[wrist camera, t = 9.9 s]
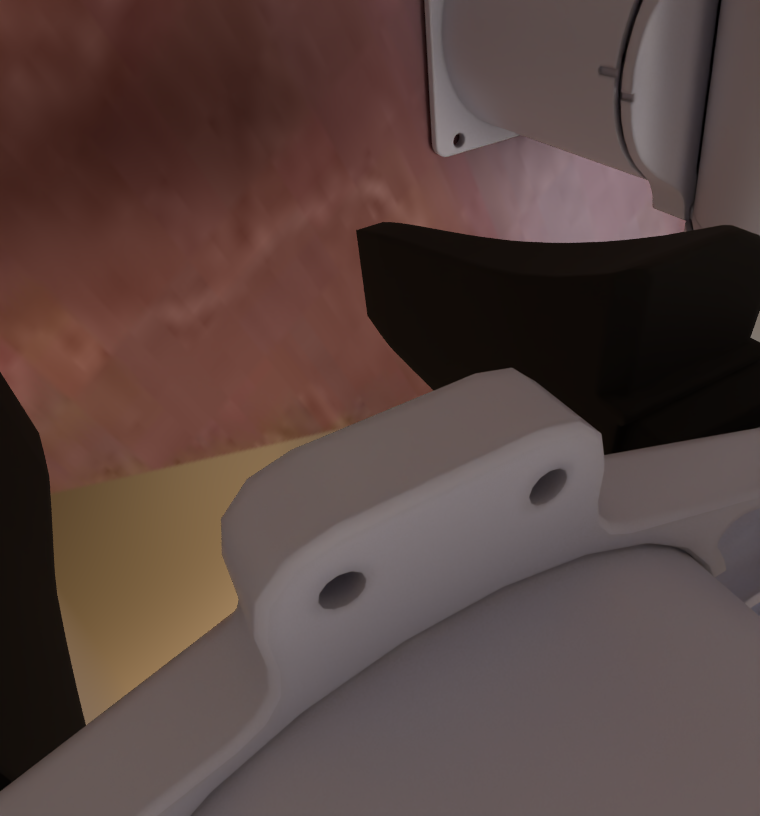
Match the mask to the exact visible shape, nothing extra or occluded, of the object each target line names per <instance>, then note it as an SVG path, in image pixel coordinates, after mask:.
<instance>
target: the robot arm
mask: <svg viewBox="0 0 760 816" xmlns="http://www.w3.org/2000/svg"><path fill="white" fill-rule="evenodd" d="M424 4H425V23H426V41H427V60H428V79H429V97H430V116H431V135H432V147H433V150H434V151H435V153H436V154H438V155H441V156H443V157H448V156H452V155H455V154H459V153H462V152H465V151H469V150H472V149H475V148H479V147H482V146H486V145H489V144H492V143H496V142H499V141H503V140H506V139H509V138H513V137H516V136H519V135H522V136H525V137H528V138H531V139H533V140H536V141H539V142H542V143H545V144H547V145H550V146H553V147H556V148H559V149H562V150H564V151H567V152H570V153H573V154H576V155H578V156H581V157H584V158H587V159H590V160H592V161H595V162H598V163H601V164H604V165H606V166H609V167H612V168H615V169H618V170H620V171H623V172H626V173H629V174H632V175H634V176H637V177H640V178H643V179H646V180H648V181H649V183H650V186H651V189H652V194H653V208H655V209H657V210H660V211H663V212H665V213H668V214H670V215H673V216H675V217H678V218H680V219H683V220H685V221H686V223H685V229H684V232H680V233H675V234H669V235H663V236H656V237H647V238H639V239H630V240H620V241H607V242H585V243H542V242H522V241H510V240H501V239H493V238H486V237H478V236H472V235H466V234H460V233H454V232H448V231H443V230H437V229H432V228H426V227H421V226H415V225H409V224H402V223H393V222H382V223H378V224H375V225H372V226H369V227H366V228H362V229H359V230H356V232H357V240H358V247H359V255H360V262H361V270H362V277H363V285H364V292H365V300H366V307H367V315H368V317H369V318H370V320H371V321H372V322H373V324H374V325H375V327H376V328H377V330H378V331H379V333H380V334H381V335H382V337H383V338H384V339H385V341H386V342H387V343H388V345H389V346H390V347H391V348H392V349H393V350H394V351H395V352H396V353H397V354H398V355H399V356H400V357H401V358H402V359H403V360H404V361H405V362H406V363H407V365H408V366H409V367H410V368H411V369H412V370H413V371H414V372H416V373H417V374H418V375H419V376H420V377H421V378H422V379H423V380H424V381H425V382H426V383H427V384H428V385H429V386H430V387H431V388H432V389H433V390H434V391H432V392H429V393H427V394H425V395H422V396H420V397H417V398H415V399H413V400H410V401H408V402H405V403H403V404H401V405H398V406H396V407H393V408H391V409H388V410H386V411H384V412H381V413H379V414H376V415H374V416H372V417H369V418H367V419H364V420H362V421H360V422H357V423H355V424H352V425H350V426H348V427H345V428H343V429H340V430H338V431H336V432H333V433H331V434H328V435H326V436H323V437H321V438H319V439H317V440H314V441H311V442H309V443H307V444H304V445H302V446H299V447H297V448H295V449H292V450H290V451H289V452H287V453H286V454H284V455H283V456H281V457H280V458H279V459H277V460H275V461H274V462H272V463H271V464H269V465H268V466H266V467H265V468H263V469H262V470H260V471H258V472H257V473H255V474H254V475H252V476H251V477H249V478H248V479H247V480H246V482H245V483H244V484H243V486H242V487H241V489H240V491H239V492H238V494H237V495H236V497H235V498H234V500H233V501H232V503H231V504H230V506H229V508H228V509H227V510H226V512H225V514H224V515H223V517H222V519H221V530H222V556H223V559H224V561H225V564H226V566H227V569H228V572H229V574H230V577H231V580H232V582H233V585H234V587H235V590H236V593H237V595H238V599H239V600H238V605H237V608H236V610H235V611H234V612H233V613H232V614H230V615H229V616H228V617H226V618H225V619H224V620H223V621H221V622H220V623H219V624H217V625H216V626H215V627H213V628H212V629H211V630H210V631H208V632H207V633H206V634H204V635H203V636H202V637H200V638H199V639H198V640H197V641H195V642H194V643H193V644H191V645H190V646H189V647H188V648H186V649H185V650H184V651H182V652H181V653H180V654H178V655H177V656H176V657H174V658H173V659H172V660H171V661H169V662H168V663H167V664H166V665H164V666H163V667H161V668H160V669H159V670H158V671H156V672H155V673H154V674H152V675H151V676H150V677H149V678H147V679H146V680H145V681H143V682H142V683H141V684H139V685H138V686H137V687H136V688H134V689H133V690H132V691H130V692H129V693H128V694H127V695H125V696H124V697H122V698H121V699H120V700H119V701H117V702H116V703H115V704H113V705H112V706H111V707H109V708H108V709H107V710H106V711H104V712H103V713H102V714H100V715H99V716H98V717H97V718H95V719H94V720H93V721H91V722H90V723H89V724H87V725H86V724H85V720H84V716H83V712H82V708H81V704H80V700H79V695H78V691H77V688H76V683H75V678H74V674H73V669H72V665H71V661H70V655H69V651H68V647H67V642H66V637H65V632H64V627H63V622H62V617H61V611H60V607H59V601H58V596H57V590H56V580H55V569H54V552H53V534H52V533H53V531H52V514H51V513H52V512H51V496H50V481H49V473H48V469H47V464H46V460H45V455H44V451H43V447H42V443H41V439H40V435H39V433H38V431H37V429H36V428H35V426H34V425H33V423H32V421H31V420H30V418H29V417H28V415H27V414H26V412H25V410H24V409H23V407H22V406H21V404H20V402H19V401H18V399H17V398H16V396H15V395H14V393H13V391H12V390H11V388H10V387H9V385H8V384H7V382H6V380H5V379H4V377H3V376H2V374H1V372H0V816H760V342H758V341H756V340H754V339H752V338H750V337H751V334H752V331H753V328H754V325H755V322H756V320H757V317H758V314H759V311H760V0H424ZM458 133H459V141H458V142H457V144H455V145H454V143H453V140H454V137H455V136H456V134H458Z"/></svg>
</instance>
